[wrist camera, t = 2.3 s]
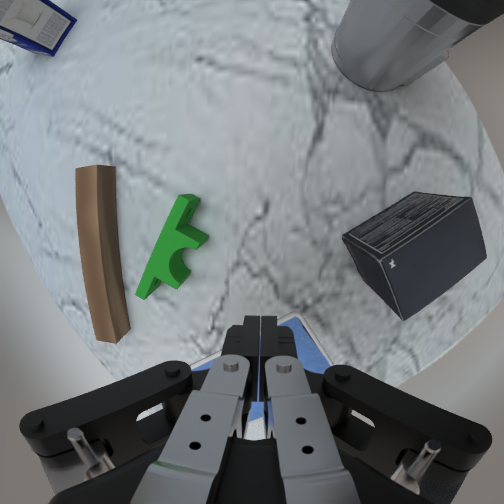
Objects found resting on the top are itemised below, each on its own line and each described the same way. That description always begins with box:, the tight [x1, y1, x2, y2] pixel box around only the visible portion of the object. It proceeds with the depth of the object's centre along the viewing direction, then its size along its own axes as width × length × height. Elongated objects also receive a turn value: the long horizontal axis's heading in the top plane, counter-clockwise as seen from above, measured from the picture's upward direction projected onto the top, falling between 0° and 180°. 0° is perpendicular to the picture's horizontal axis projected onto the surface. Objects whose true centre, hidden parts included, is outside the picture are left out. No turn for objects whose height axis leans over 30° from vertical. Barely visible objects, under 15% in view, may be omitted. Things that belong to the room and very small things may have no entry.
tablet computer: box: [190, 311, 334, 423], centre depth 33 cm, size 19×13×1 cm, turn 123°
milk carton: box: [0, 0, 77, 56], centre depth 14 cm, size 7×7×20 cm
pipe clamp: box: [135, 194, 209, 300], centre depth 28 cm, size 11×4×5 cm, turn 151°
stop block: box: [76, 165, 130, 344], centre depth 29 cm, size 3×20×4 cm, turn 0°
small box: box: [342, 192, 487, 321], centre depth 23 cm, size 11×6×10 cm, turn 121°
